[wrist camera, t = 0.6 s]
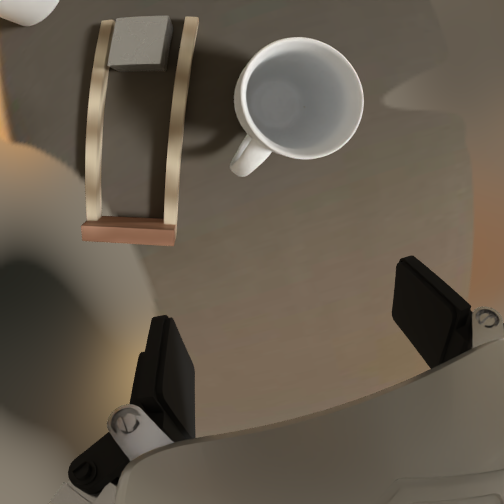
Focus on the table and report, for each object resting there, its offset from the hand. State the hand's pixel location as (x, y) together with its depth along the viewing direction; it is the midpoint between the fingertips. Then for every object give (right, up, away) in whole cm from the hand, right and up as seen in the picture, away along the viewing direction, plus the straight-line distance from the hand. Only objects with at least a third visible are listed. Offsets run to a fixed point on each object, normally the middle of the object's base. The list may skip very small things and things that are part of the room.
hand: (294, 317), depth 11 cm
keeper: (-14, +27, +17) cm, 35 cm away
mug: (0, +20, +22) cm, 30 cm away
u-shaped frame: (-16, +18, +21) cm, 32 cm away
